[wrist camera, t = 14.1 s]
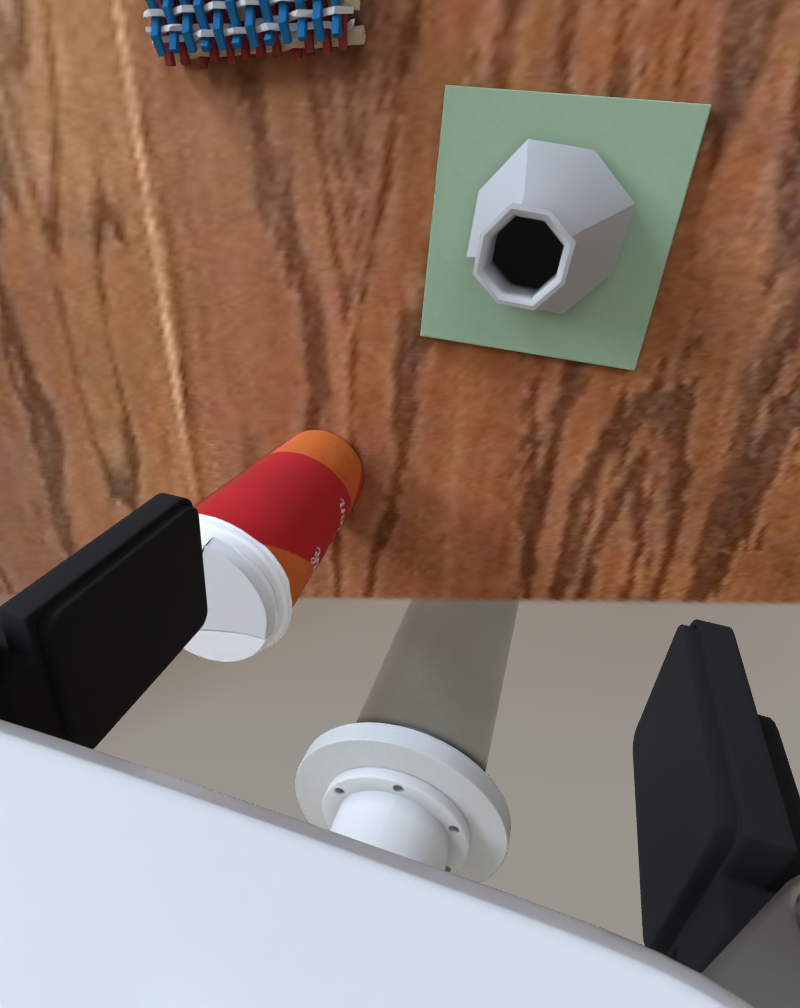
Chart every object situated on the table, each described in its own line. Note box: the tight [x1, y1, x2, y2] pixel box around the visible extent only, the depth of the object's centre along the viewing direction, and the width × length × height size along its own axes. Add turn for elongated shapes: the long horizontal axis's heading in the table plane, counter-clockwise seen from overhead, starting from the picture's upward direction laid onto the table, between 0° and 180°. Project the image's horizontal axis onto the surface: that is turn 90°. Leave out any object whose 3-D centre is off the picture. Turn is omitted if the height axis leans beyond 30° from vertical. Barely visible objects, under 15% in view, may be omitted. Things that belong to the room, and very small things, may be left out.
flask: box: [466, 139, 635, 315], centre depth 24 cm, size 7×7×10 cm
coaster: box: [420, 85, 711, 371], centre depth 28 cm, size 11×11×1 cm
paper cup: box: [184, 430, 363, 662], centre depth 32 cm, size 8×8×14 cm
